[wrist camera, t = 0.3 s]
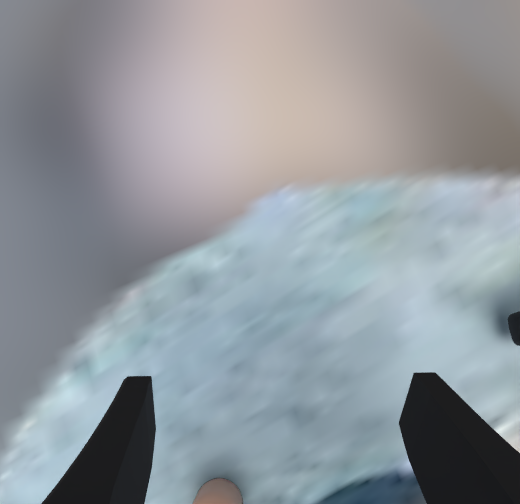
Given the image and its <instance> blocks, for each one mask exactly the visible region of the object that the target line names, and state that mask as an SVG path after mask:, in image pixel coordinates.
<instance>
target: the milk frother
mask: <svg viewBox="0 0 520 504" xmlns="http://www.w3.org/2000/svg"><path fill="white" fill-rule="evenodd" d="M508 325H509V330H510V334H511V337H512V340H513V342H514V343H515V344H516V345H519V346H520V312H516V313H513V314H510V315H509V317H508Z"/></svg>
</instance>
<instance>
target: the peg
mask: <svg viewBox="0 0 520 504" xmlns="http://www.w3.org/2000/svg"><path fill="white" fill-rule="evenodd" d="M193 504H243V500H242V495H241V493H240V491H239V489H238V488H237V486H236V485H235V484H234V483H233V482H231V481H229V480H227V479H223V478H216V479H212V480H210V481H208V482H206V483H205V484H204V485H203V486H202V487H201V488H200V490H199V491H198V493H197V496H196V498H195V500H194V502H193Z"/></svg>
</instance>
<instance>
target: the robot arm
mask: <svg viewBox="0 0 520 504" xmlns="http://www.w3.org/2000/svg"><path fill="white" fill-rule="evenodd" d="M399 425H400V429H401V433H402V437H403V441H404V444H405V448H406V451H407V455H408V458H409V461H410V464H411V466H412V469H413V471H414V474H415V476H416V478H417V481H418V483H419V486H420V488H421V491H422V493H423V496H424V498H425V500H426V503H427V504H520V453H519V452H518V451H517V450H515V449H514V448H513V447H512V446H511V445H510V444H509V443H508V442H506V441H505V440H504V439H503V438H502V437H501V436H500V435H499V434H498V433H497V432H496V431H495V430H493V429H492V428H491V427H490V426H489V425H488V424H487V423H486V422H485V421H484V420H483V419H482V418H481V417H480V416H479V415H478V414H477V413H476V412H475V411H474V410H473V409H472V408H471V407H470V406H469V405H468V404H467V403H466V402H465V401H464V400H463V399H462V398H461V397H460V396H459V395H458V394H457V393H456V392H455V391H453V390H452V389H451V388H450V387H449V386H448V385H447V384H446V383H445V382H444V381H443V380H442V379H441V378H440V377H439V376H438V375H437V374H436V373H414V374H413V378H412V381H411V384H410V388H409V391H408V394H407V398H406V401H405V404H404V408H403V411H402V414H401V417H400V421H399ZM155 431H156V425H155V414H154V402H153V390H152V379H151V376H130V377H127V378H125V379H124V381H123V383H122V385H121V387H120V389H119V391H118V392H117V394H116V396H115V398H114V400H113V402H112V403H111V405H110V407H109V408H108V410H107V412H106V413H105V415H104V417H103V418H102V420H101V422H100V423H99V425H98V426H97V428H96V429H95V431H94V433H93V434H92V436H91V437H90V439H89V440H88V442H87V443H86V445H85V446H84V448H83V449H82V451H81V452H80V454H79V455H78V456H77V458H76V459H75V460H74V462H73V463H72V465H71V466H70V467H69V469H68V470H67V471H66V473H65V474H64V476H63V477H62V478H61V480H60V481H59V482H58V484H57V485H56V486H55V487H54V489H53V490H52V491H51V493H50V494H49V495H48V496H47V498H46V499H45V500H44V501H43V502H42V504H144V502H145V497H146V493H147V488H148V483H149V478H150V473H151V468H152V460H153V451H154V441H155Z"/></svg>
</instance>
